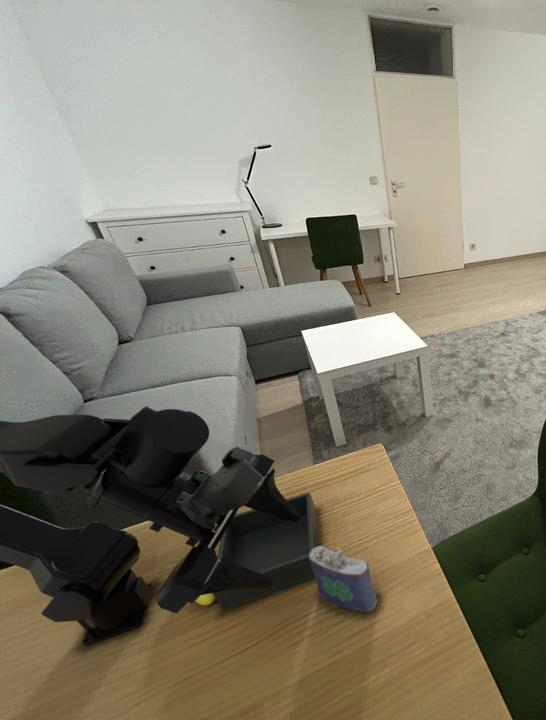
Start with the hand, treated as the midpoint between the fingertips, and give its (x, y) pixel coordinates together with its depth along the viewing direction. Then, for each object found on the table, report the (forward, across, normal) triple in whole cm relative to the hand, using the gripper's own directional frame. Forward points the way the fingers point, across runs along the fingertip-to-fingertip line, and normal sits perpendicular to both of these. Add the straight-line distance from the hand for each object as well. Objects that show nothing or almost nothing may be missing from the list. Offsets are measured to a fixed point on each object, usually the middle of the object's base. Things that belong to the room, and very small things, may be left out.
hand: (286, 549), depth 51 cm
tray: (+3, +8, +14) cm, 16 cm away
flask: (+13, 0, +5) cm, 14 cm away
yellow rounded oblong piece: (-5, +1, +19) cm, 20 cm away
